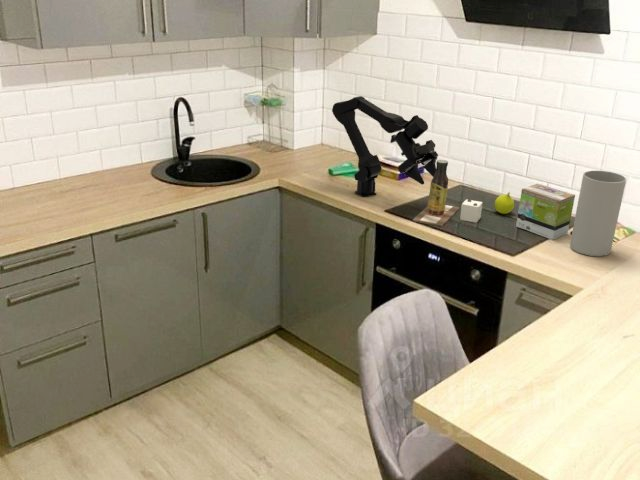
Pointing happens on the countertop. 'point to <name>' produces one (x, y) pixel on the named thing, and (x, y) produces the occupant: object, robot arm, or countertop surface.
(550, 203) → the tea box
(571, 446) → the countertop surface
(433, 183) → the sauce bottle
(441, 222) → the walnut board
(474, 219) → the die
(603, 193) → the cylinder vase
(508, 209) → the yellow-green round fruit
